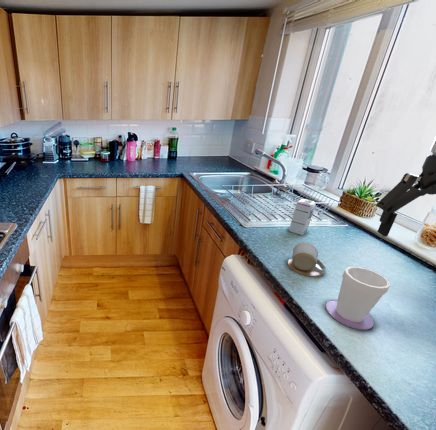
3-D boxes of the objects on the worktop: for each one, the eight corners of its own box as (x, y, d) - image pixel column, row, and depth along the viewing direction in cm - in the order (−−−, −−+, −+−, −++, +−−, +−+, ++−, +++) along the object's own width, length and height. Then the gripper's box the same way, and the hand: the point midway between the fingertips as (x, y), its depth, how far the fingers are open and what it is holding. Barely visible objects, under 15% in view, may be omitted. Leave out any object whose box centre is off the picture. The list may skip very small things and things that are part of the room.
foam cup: (325, 313, 82) (341, 276, 76) (332, 297, 88) (348, 262, 82) (367, 332, 76) (388, 293, 70) (372, 314, 82) (392, 277, 76)
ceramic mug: (289, 267, 102) (295, 249, 98) (290, 257, 108) (296, 239, 104) (324, 278, 97) (332, 259, 93) (323, 266, 103) (331, 248, 100)
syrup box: (302, 235, 124) (312, 205, 118) (287, 230, 128) (297, 200, 122) (306, 231, 128) (317, 201, 122) (292, 227, 132) (301, 197, 126)
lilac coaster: (359, 304, 86) (359, 303, 86) (382, 333, 76) (383, 331, 76) (318, 299, 88) (319, 298, 87) (336, 326, 78) (337, 325, 78)
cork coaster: (314, 260, 107) (315, 259, 107) (329, 278, 97) (329, 277, 97) (283, 257, 109) (283, 256, 108) (293, 274, 99) (294, 273, 99)
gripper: (499, 154, 67) (454, 233, 76) (379, 150, 71) (350, 226, 80) (536, 161, 60) (482, 248, 69) (401, 157, 64) (366, 239, 73)
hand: (411, 236), depth 75 cm, fingers open, 13 cm apart
